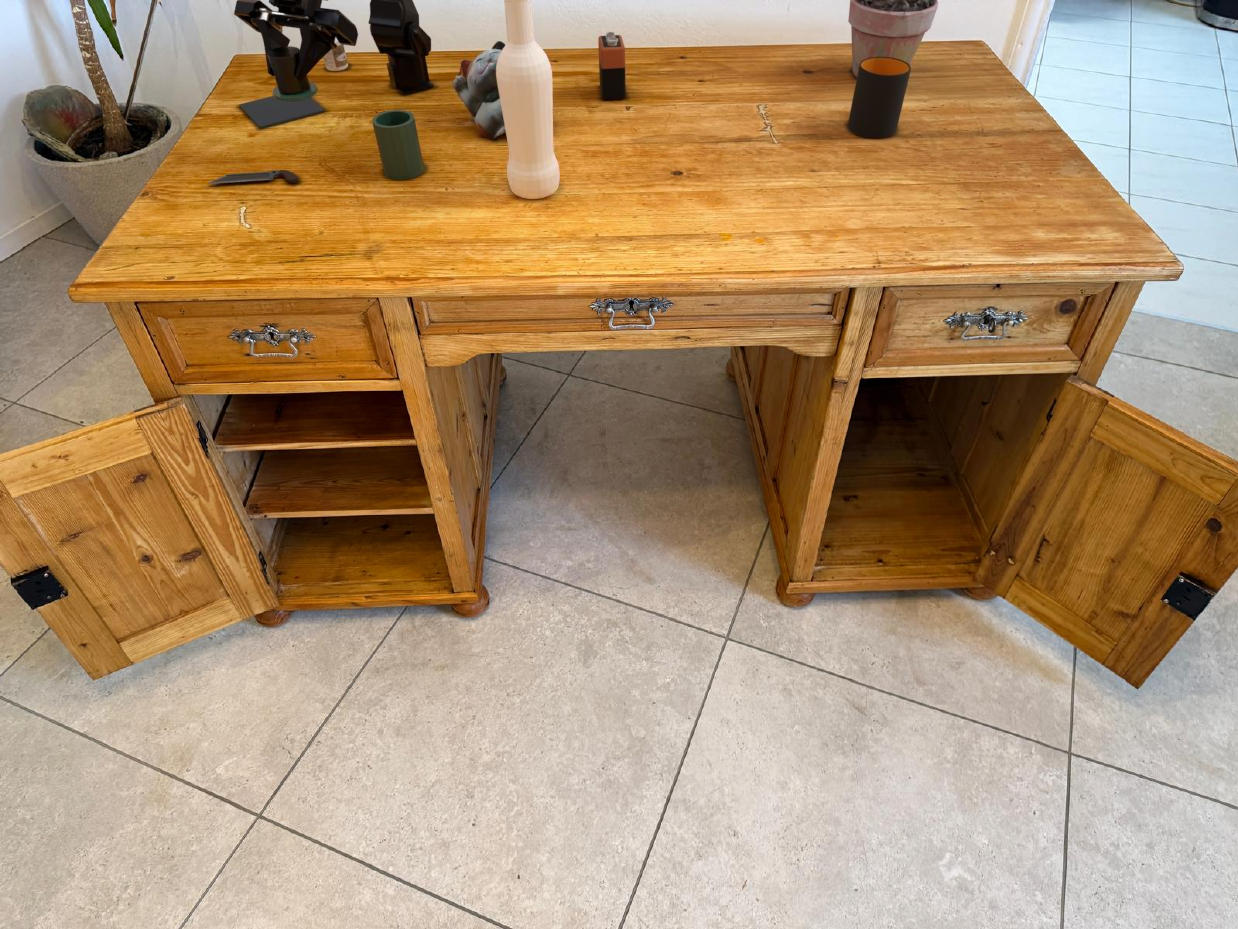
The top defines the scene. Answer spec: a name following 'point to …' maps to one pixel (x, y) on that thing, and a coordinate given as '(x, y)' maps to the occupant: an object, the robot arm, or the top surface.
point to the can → (398, 144)
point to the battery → (612, 66)
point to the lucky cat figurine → (482, 91)
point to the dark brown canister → (289, 76)
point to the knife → (256, 177)
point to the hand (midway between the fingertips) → (284, 76)
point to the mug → (878, 97)
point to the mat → (279, 110)
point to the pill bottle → (336, 58)
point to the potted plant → (888, 28)
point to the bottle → (527, 106)
